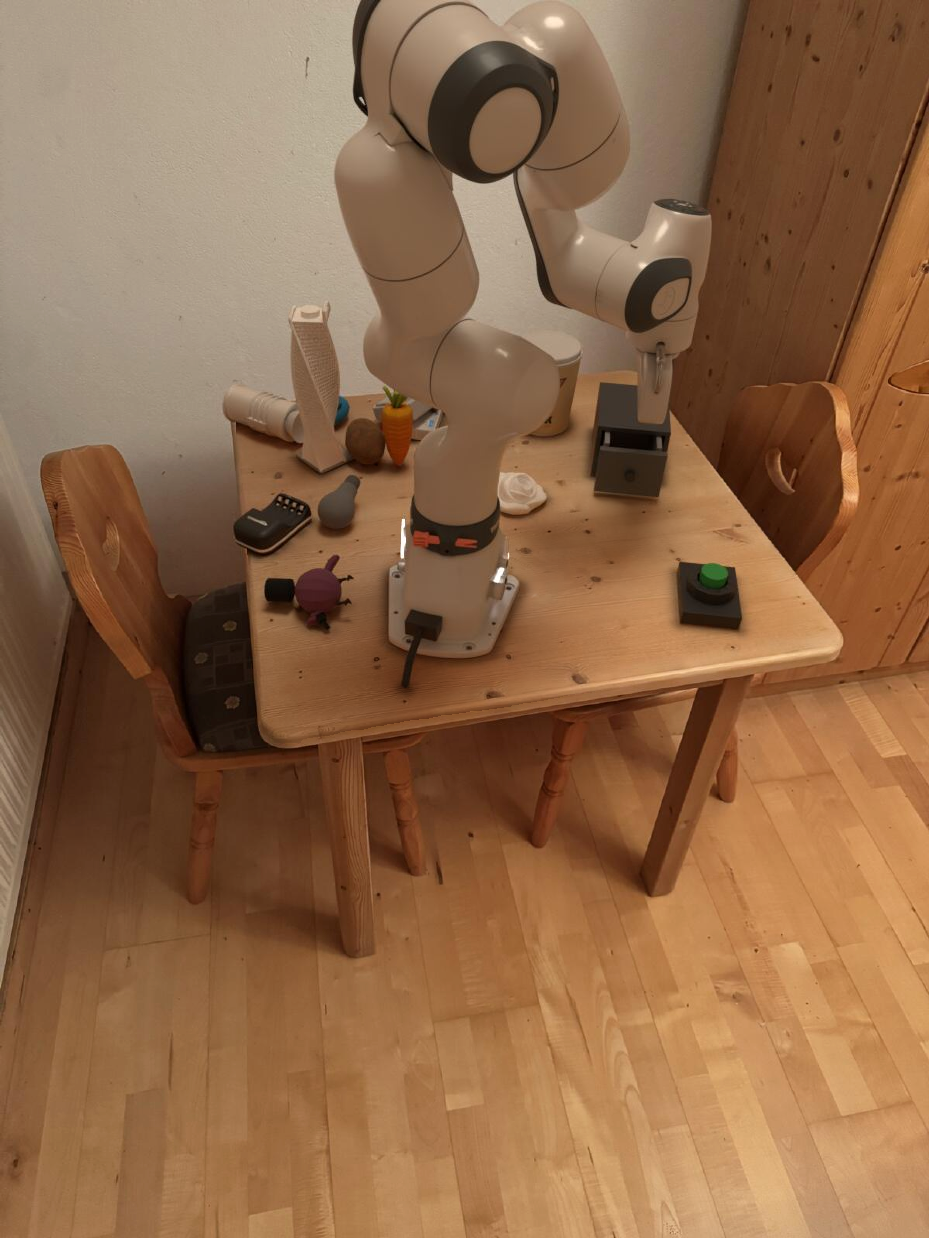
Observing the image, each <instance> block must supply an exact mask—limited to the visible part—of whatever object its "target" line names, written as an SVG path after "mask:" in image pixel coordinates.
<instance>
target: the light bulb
mask: <svg viewBox="0 0 929 1238" xmlns="http://www.w3.org/2000/svg"><path fill="white" fill-rule="evenodd" d="M361 484H362V482H361V479H360V478H359V477H358V476H357V475H354V474H349V475H347V477H346V478H345V479H344V481H342V483H340V485H339V486H338V487H337V488H336V489H335V490H333V491H331V492H329V493H327V494H325V495H324V496H323V497H322V498H321V499H320V500H319V503H318V504H317V515H318V518H319V520H320V522H321V523H322V524H323V525H324V526H325V527H327V528H329V529H333V530H340V529H344V528H346V527H347V526H349V525H350V524H351V523H352V522H353V520H354V517H355V514H356V513H355V512H356V511H355V500H356V497H357V495H358V490H359V488H360V486H361Z"/></svg>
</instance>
